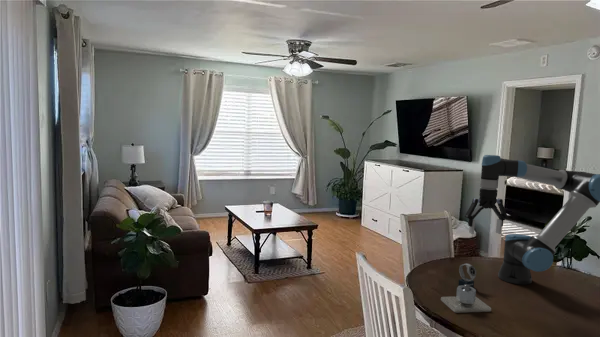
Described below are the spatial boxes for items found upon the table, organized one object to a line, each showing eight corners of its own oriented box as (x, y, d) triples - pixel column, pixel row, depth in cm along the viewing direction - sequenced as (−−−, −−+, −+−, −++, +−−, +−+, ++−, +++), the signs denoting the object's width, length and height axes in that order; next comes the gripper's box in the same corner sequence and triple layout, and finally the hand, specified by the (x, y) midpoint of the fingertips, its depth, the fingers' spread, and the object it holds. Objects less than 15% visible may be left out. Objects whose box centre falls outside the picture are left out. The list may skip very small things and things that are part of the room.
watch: (469, 290, 193) (471, 267, 192) (455, 284, 200) (457, 262, 199) (477, 288, 196) (479, 266, 195) (462, 282, 203) (464, 261, 201)
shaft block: (474, 299, 183) (476, 279, 182) (490, 311, 172) (492, 290, 171) (440, 300, 181) (442, 280, 180) (454, 312, 169) (456, 291, 168)
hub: (468, 296, 180) (469, 285, 180) (477, 303, 173) (478, 291, 173) (453, 296, 179) (454, 285, 178) (462, 303, 172) (463, 292, 172)
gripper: (508, 187, 197) (504, 231, 199) (459, 186, 193) (455, 231, 196) (518, 190, 190) (514, 235, 192) (468, 189, 186) (464, 235, 188)
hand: (484, 233), depth 194 cm, fingers open, 13 cm apart
